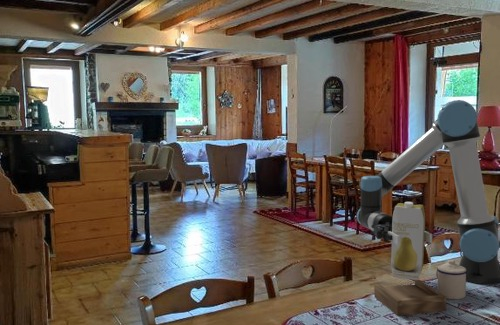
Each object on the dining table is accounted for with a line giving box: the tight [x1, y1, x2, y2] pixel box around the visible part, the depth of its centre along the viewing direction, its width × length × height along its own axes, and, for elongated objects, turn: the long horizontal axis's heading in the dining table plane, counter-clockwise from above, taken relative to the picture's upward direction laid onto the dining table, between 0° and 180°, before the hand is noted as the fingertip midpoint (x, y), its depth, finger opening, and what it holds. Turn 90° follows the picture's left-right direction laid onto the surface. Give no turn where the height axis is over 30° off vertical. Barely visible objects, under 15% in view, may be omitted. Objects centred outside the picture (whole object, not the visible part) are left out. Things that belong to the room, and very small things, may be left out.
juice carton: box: [390, 201, 426, 281], centre depth 155 cm, size 9×8×24 cm
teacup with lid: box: [435, 259, 467, 300], centre depth 164 cm, size 12×9×12 cm
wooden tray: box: [373, 279, 447, 317], centre depth 157 cm, size 16×16×4 cm
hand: (414, 239), depth 151 cm, fingers closed on juice carton, 10 cm apart
